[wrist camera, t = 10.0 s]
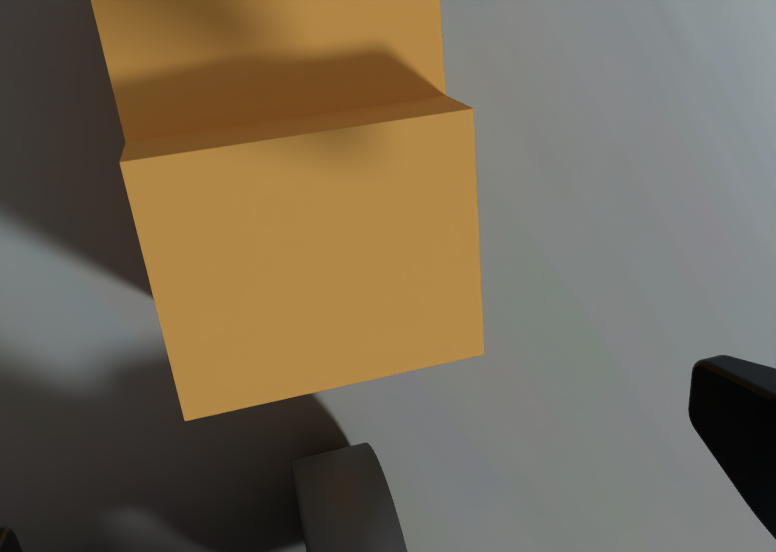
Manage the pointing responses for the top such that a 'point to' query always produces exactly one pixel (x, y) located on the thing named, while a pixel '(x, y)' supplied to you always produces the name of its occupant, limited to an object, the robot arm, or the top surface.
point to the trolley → (346, 502)
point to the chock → (296, 191)
